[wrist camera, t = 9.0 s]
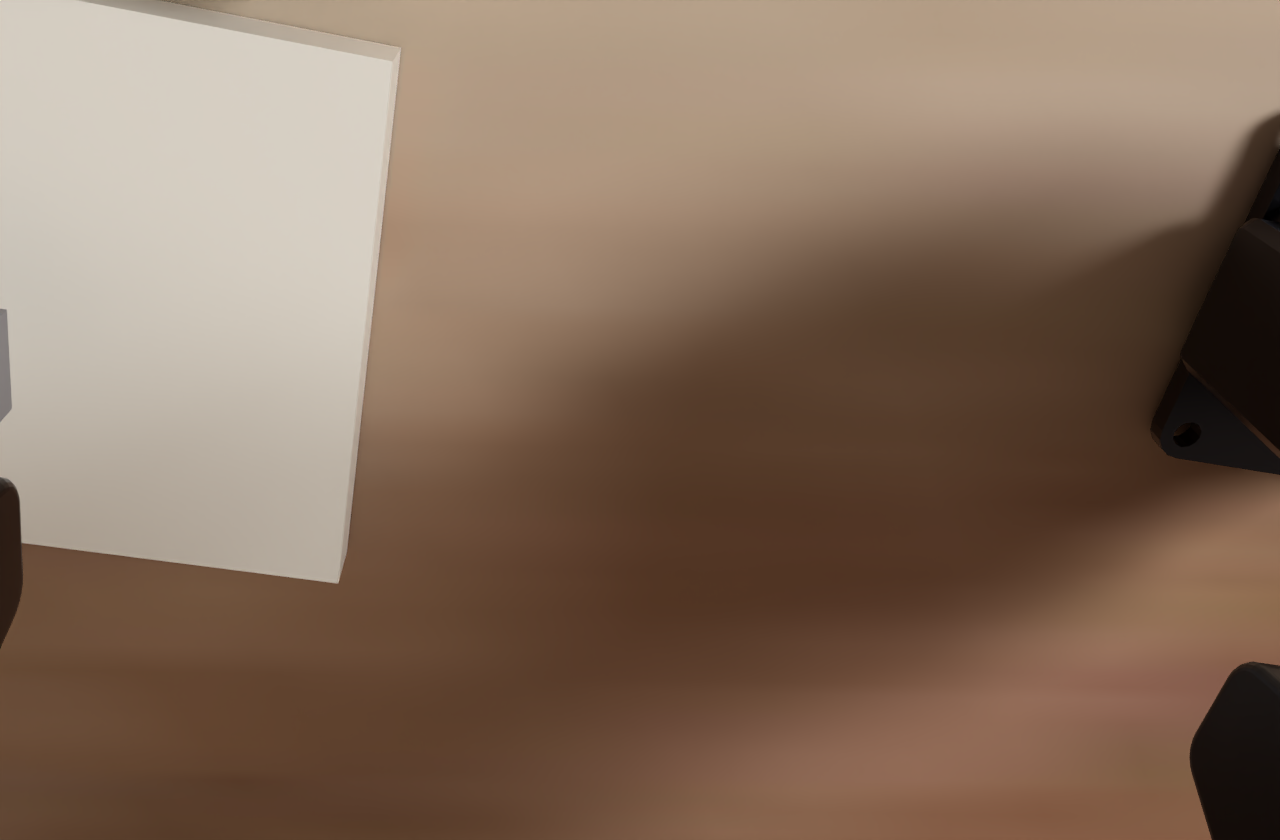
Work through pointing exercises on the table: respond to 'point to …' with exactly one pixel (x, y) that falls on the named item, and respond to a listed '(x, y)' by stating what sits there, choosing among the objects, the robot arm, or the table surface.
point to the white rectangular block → (187, 279)
